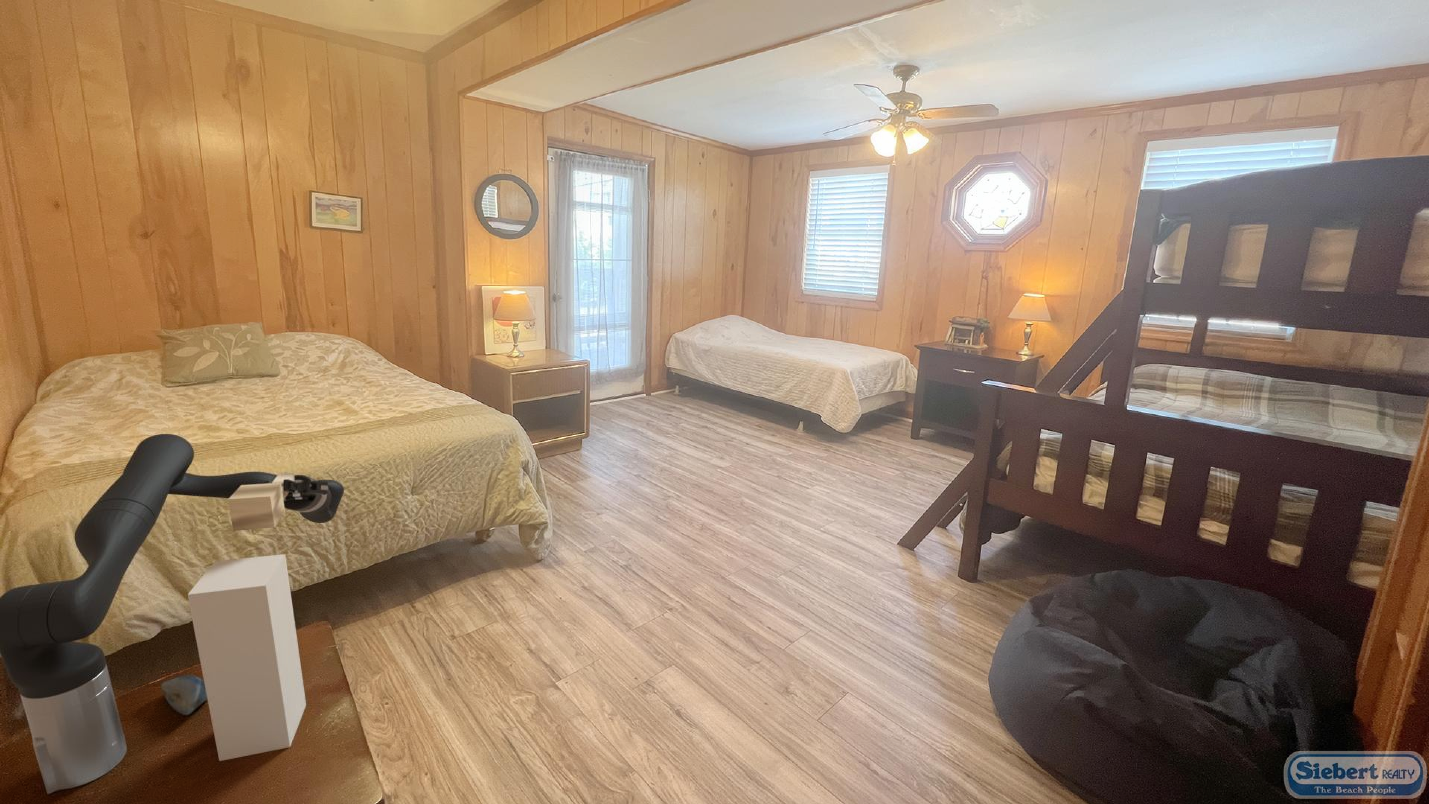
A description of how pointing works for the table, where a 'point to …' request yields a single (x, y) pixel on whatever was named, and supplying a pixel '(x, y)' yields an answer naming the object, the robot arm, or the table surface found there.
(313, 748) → the table surface
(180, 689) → the blue rounded lump
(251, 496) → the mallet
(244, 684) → the stand
